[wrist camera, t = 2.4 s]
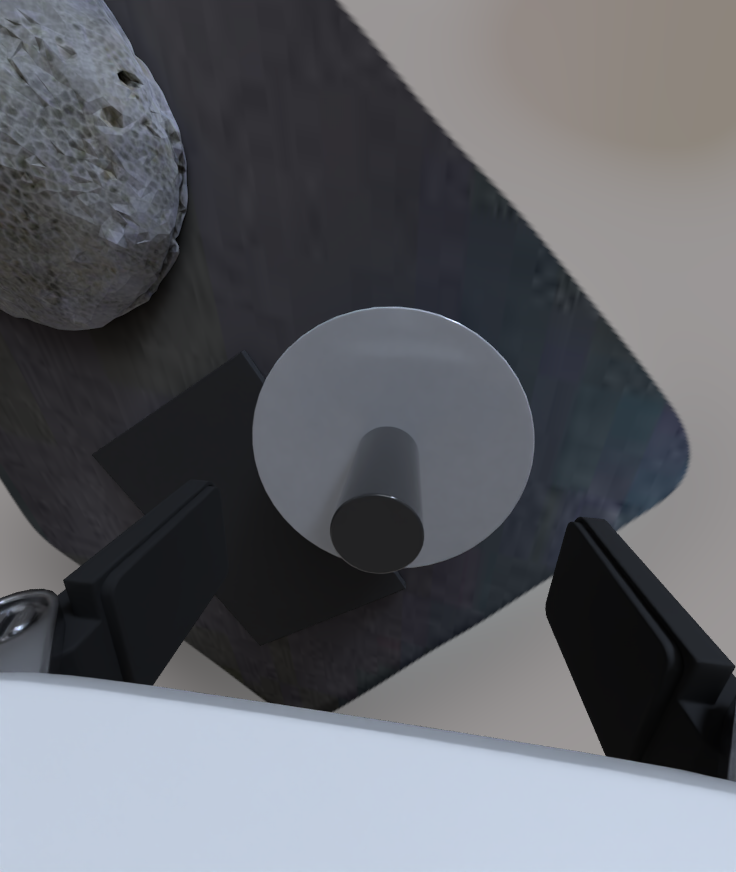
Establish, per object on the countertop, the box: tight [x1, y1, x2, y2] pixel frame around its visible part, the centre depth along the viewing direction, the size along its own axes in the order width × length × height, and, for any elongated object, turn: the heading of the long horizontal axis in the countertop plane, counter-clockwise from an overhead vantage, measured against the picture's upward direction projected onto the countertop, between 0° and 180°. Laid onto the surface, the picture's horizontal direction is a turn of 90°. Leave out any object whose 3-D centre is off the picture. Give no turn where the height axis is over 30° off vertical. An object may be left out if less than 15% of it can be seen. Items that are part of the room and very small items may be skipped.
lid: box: [252, 306, 534, 574], centre depth 13 cm, size 12×12×7 cm
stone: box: [0, 0, 188, 330], centre depth 18 cm, size 18×8×15 cm
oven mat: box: [92, 351, 406, 646], centre depth 26 cm, size 20×14×1 cm
